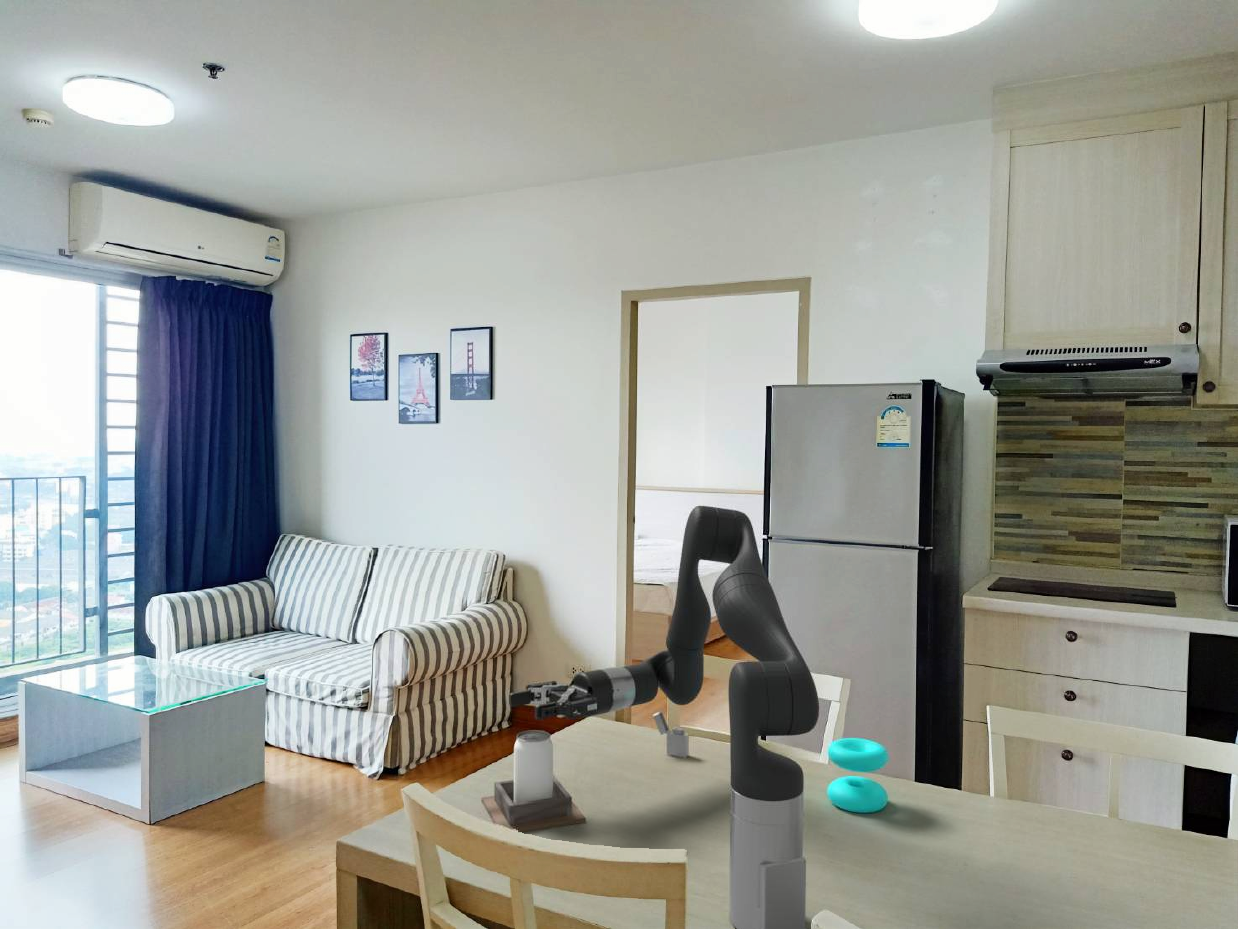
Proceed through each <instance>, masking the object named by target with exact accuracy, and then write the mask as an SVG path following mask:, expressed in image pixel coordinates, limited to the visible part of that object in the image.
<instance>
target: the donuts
mask: <svg viewBox="0 0 1238 929" xmlns="http://www.w3.org/2000/svg"><path fill="white" fill-rule="evenodd" d="M827 756H828V757H829V759H830V761H831V762H832V763H833V764H834V765H835V766H837V767H839V768H841V769H843V770H846V771H850V772H854V773H871V772H876V771H878V770H881V769H883V768H884V767H885V766H886V765H887V763H888V760H889V753H888V750H887V749H886V748H885V746H883V745H882V744H880V743H878V742H875V741H873V740H869V739H866V738H857V737H845V738H839V739H836V740H834V741H832V742H831V743H830V745H829V746H828V748H827ZM826 791H827V792H826V793H827V794H826V795H827V798H828V799H829V801H830V802H831V803H832V804H833V805H834V806H836V807H838V808H840V809H842V810H845V811H849V812H854V813H874V812H878V811H880V810H882V809H883V808H885V807H886V806H887V804H888V801H889V797H888V796H889V795H888V793H887V791H886V789H885V788H884V786H882V785H881V784H880V783H878V782H877V781H874V780H873V779H870V778H868V777H863V776H858V775H857V776H856V775H855V776H854V775H851V776H849V775H848V776H842V777H838V778H836V779H835V780H833V781H832V782H831V783H830V784H829V785H828V787H827V790H826Z"/></svg>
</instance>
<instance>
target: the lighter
mask: <svg viewBox="0 0 1238 929" xmlns="http://www.w3.org/2000/svg"><path fill="white" fill-rule="evenodd" d="M652 717H653V720H654V722H655V724H656V727H657V729H658V732H659V734H660V736H661V735H665V734H666V755H667V754H670V755H669V756H671V755H674V756H673V757H677V756H678V757H677V758H683V757H686V758H688V757H687V756H688V755H690V753H689V752H690V751H689V750H690V747H689V746H690V744H689V743H690V734H689V733H686V732H685V730H684V729H683V728H682V727H677V726H673V728H672V730H670V728H669V726H668V722H667V721H666V718H665V716H664V713H663V711H662V710H660V711H657V712H655V713H654V714H652Z"/></svg>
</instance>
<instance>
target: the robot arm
mask: <svg viewBox="0 0 1238 929" xmlns="http://www.w3.org/2000/svg"><path fill="white" fill-rule="evenodd" d="M682 540H683V541H682V547H681V552H680V553H681V555H680V562H679V569H678V577H677V578H678V579H677V586H676V587H677V588H676V594H675V601H674V608H673V611H672V616H671V619H670V621H669V622H670V623H669V627H668V630H667V635H666V637H665V638H666V639H665V645H666V650H663V651H660V652H658V653H655V654H654V655H652V656H651V657H649V658H646V659H644V660H643V661H641V662H639V663H637V664H632V665H626V666H621V667H620V666H619V667H615V666H614V667H607V668H600V669H595V670H590V671H584V672H577V674H576V675H574V676H573V677H572V680H571V681H570V684H568V683H559V684H558V683H557V682H558V681H555V680H552V681H546V682H545V681H544V682H538V683H532V684H527V685H525V690H520V691H515V692H511V693H509V695H508V706H510V707H513V708H515V707H519V706H520V707H521V706H526V705H533V704H534V705H535V707H534V718H535V719H536V720H545V719H550V718H554V717H557V718H561V719H562V718H564V717H565V719H566V720H569V721H570V720H574V719H578V718H582V717H584V718H590V717H594V716H599V715H604V714H608V713H613V712H616V711H620V710H623V709H625V708H630V707H634V706H639V705H643V704H648V703H650V702H651V701H653V700H654V699H656V697H657V695H658V691H659V689H660V690H661V692H662V693H663V694H664V695H665V696H666V697H667V698H668V699H669V701H671V703H673V704H675V705H678V706H686V705H688V704H690V703H692V702H693V701H694V700H696V698H697V697H698V695H699V694H700V692H701V690H702V689H703V683H704V677H705V676H704V672H705V671H704V670H705V669H704V668H705V667H704V662H705V660H704V658H705V657H704V656H705V655H704V648H705V645H706V642H707V641H706V640H707V638H708V635H709V630H710V627H711V623H712V611H711V607H710V603H709V601H708V598H707V596H706V593H705V590H704V589H703V586H702V583H701V580H700V577H699V576H700V575H699V564H700V561H709V562H716V563H717V562H718V563H723V564H729V565H728V566H727V567H726V568H725V569H724V570H723V571H722V572H721V574H720V575H719V577H717V579H716V581H715V583H714V586H713V588H712V604H713V607H714V611H715V614H716V618H717V623H718V625H719V627H720V629H721V631H722V633H723V634H724V635H725V636H726V637H727V638H728V639H729V640H730V641H731V643H734V645H736V646H737V647H738V648H739V649H741V650H742V651H744V652H745V653H746V654H748V655H749V656H751V657H753V658H754V659H756V661H738V662H736V663H735V664H734V665H733V666H732V668H731V670H730V672H729V673H730V674H729V679H728V692H727V693H728V713H729V715H728V716H729V734H730V738H729V739H730V741H729V743H730V746H729V747H730V749H729V751H730V752H729V754H730V756H729V757H730V759H729V760H730V807H729V809H730V810H729V819H730V820H729V822H730V823H729V904H728V905H729V910H728V911H729V915H728V916H729V921H730V923H731V925H732V926H733V927H734V928H736V929H806V917H807V916H806V914H807V913H806V908H807V905H806V904H807V902H806V901H807V900H806V899H807V886H806V885H807V860H806V857H804V850H803V848H804V845H803V844H804V838H803V837H804V789H805V788H804V787H805V786H804V784H805V782H804V781H805V780H804V779H805V778H804V772H803V768H802V767H801V765H800V764H799V763H798V762H796V761H795V760H793V759H791V758H790V757H787V756H786V755H782V754H780V753H777V752H774V751H771V750H769V749H767V748H765V747H764V746H762V745H761V744H759V737H783V736H784V737H786V736H787V737H788V736H799V735H805V734H807V733H810V732H811V731H812V730H813V729H814V728H815V727H816V725H817V724H818V720H819V717H820V703H819V702H820V701H819V696H818V690H817V687H816V683H815V681H814V680H815V679H814V678H813V675H812V673H811V670H810V668H809V666H808V665H807V663H806V661H805V659H804V657H803V655H802V654H801V652H800V650H799V649H798V647H797V645H796V643H795V641H794V640H793V637H792V636H791V634H790V631H789V629H788V627H787V624H786V622H785V620H784V617H783V614H782V611H781V607H780V605H779V602H778V599H777V597H776V594H775V592H774V589H773V587H772V585H771V583H770V580H769V578H768V576H767V574H766V573H767V572H766V571H765V568H764V566H763V562H762V560H761V557H760V554H759V549H758V544H757V539H756V536H755V532H754V527H753V524H752V521H751V519H750V518H749V516H748V515H747V514H746V513H745V512H742V511H740V510H735V509H729V508H721V507H716V506H715V507H714V506H708V505H697V506H694V508H692V510H691V512H690V513H689V515H688V518H687V521H686V525H685V528H684V534H683V539H682ZM547 698H548V700H547Z"/></svg>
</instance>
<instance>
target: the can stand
mask: <svg viewBox="0 0 1238 929" xmlns="http://www.w3.org/2000/svg"><path fill="white" fill-rule="evenodd" d="M493 786H494V792H493V793H494V794H493V795H490V796H483V797H481V802H482V804H483V806H484V808H485V810H486V812H487V813H488V815H489V817H490V818H491V821H492V822H493V824H494V823H496V824H499V825H503V826H505V827H508V828H510V829H516V830H518V831H521V832H520V833H523V832H529V831H536V830H542V829H547V828H548V829H549V828H554V827H556V828H557V827H560V826H567V825H574V824H580V823H586V821H587V818H586V816H585V815H584V814H583V812H582V811H581V810H580V809H579V808H578V807H577V805H576V804H575V803H574V801H573V797H572V795H571V794H570V793H569V792H568V791H567V789H566V788H565V787H564V786H563V785H562V783H561V782H560V781H559V780H558V778H557V777H556V776H555V775H554V774H553V798H548V799H541V800H534V801H527V802H520V803H514V779H511V780H504V781H496V782H494V784H493Z"/></svg>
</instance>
